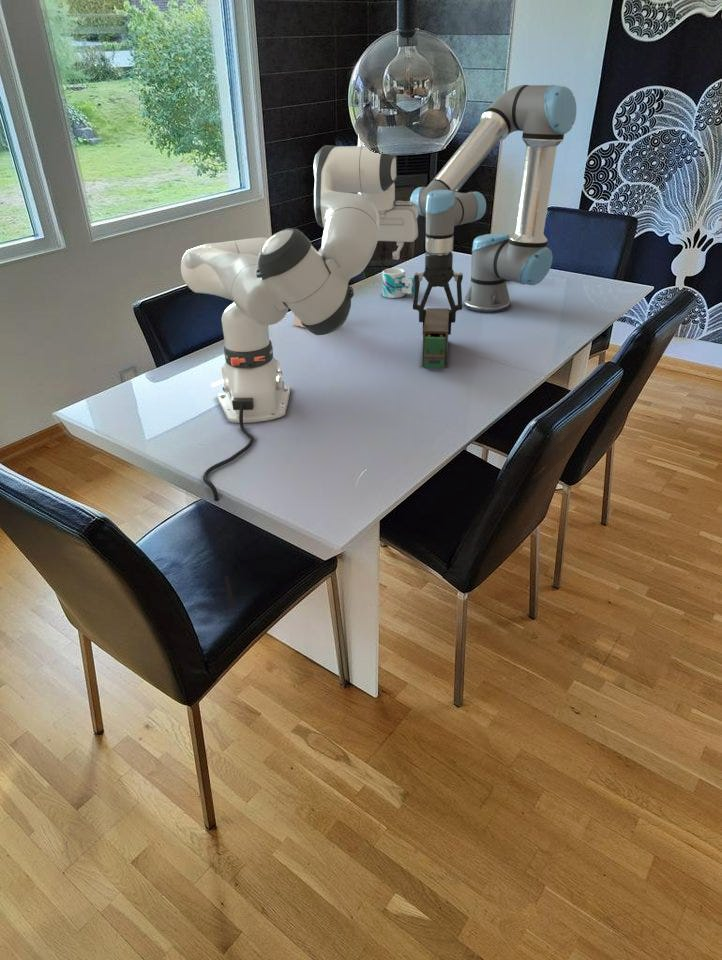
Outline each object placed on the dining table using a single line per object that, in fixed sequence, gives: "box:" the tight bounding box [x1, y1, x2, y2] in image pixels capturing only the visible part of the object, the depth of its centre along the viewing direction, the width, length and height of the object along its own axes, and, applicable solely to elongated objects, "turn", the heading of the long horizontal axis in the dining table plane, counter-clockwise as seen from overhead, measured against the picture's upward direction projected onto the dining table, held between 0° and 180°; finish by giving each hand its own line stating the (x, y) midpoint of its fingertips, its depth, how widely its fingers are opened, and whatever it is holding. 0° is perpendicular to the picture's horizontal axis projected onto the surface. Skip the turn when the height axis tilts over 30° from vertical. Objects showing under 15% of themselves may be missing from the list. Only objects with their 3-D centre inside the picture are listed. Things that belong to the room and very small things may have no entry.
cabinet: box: [422, 307, 450, 368], centre depth 191 cm, size 19×7×10 cm, turn 173°
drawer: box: [423, 334, 445, 369], centre depth 186 cm, size 23×6×9 cm, turn 173°
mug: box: [381, 267, 415, 299], centre depth 238 cm, size 8×12×8 cm
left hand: (378, 258), depth 170 cm, fingers open, 8 cm apart
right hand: (436, 332), depth 195 cm, fingers closed on cabinet, 7 cm apart
